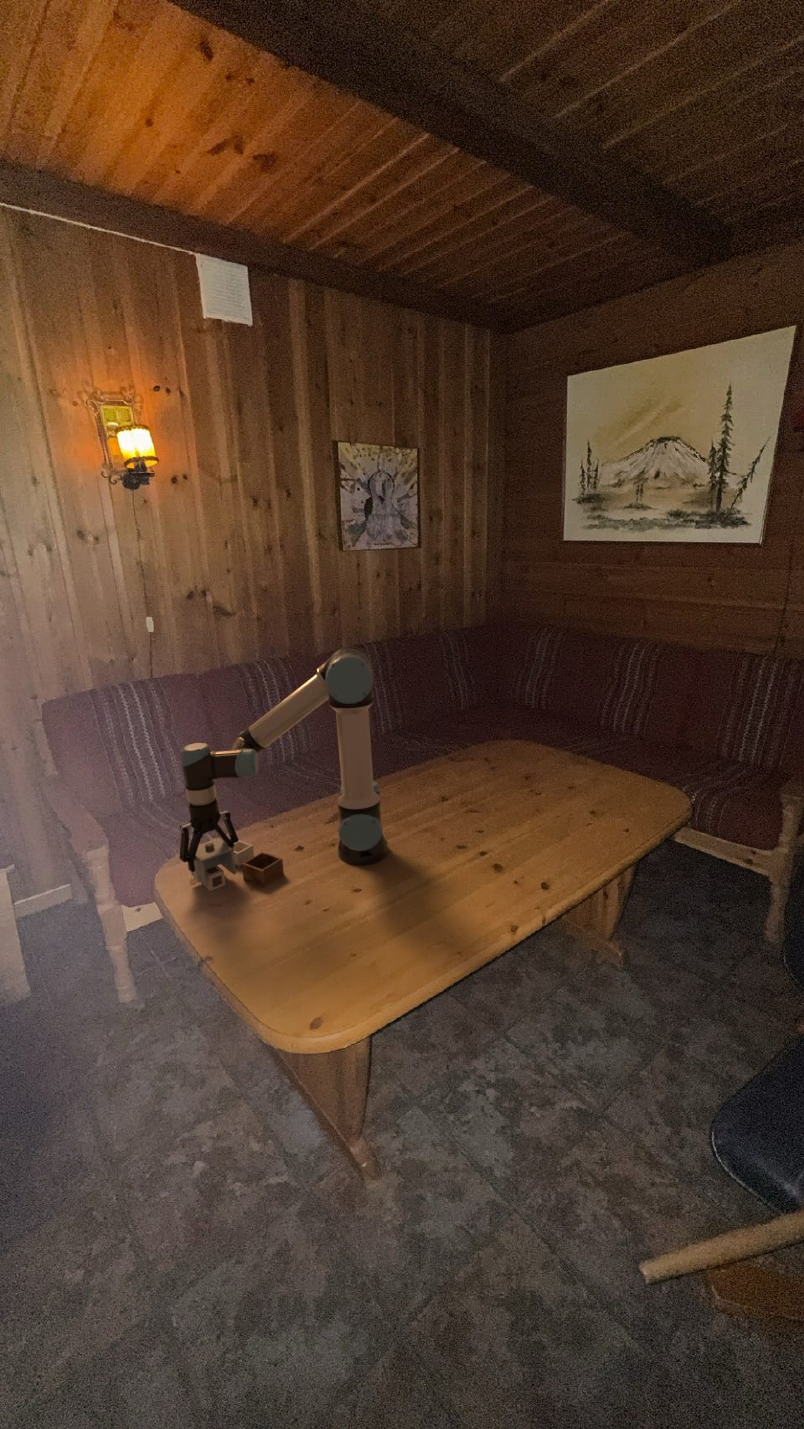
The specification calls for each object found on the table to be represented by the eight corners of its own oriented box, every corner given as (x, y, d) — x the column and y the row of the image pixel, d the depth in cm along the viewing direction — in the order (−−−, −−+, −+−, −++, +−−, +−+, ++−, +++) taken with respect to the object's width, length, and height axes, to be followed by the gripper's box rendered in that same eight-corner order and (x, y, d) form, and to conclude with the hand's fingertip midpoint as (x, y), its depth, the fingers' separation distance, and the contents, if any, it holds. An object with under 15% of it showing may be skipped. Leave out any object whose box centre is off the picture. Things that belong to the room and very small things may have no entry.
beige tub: (254, 858, 188) (253, 845, 187) (239, 867, 184) (237, 853, 182) (240, 853, 192) (239, 840, 190) (225, 862, 187) (223, 848, 186)
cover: (235, 874, 174) (231, 844, 172) (205, 886, 169) (200, 856, 166) (221, 862, 181) (217, 834, 178) (191, 874, 175) (186, 845, 173)
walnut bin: (283, 874, 179) (282, 858, 178) (263, 887, 173) (262, 871, 172) (263, 866, 184) (262, 851, 182) (243, 879, 177) (241, 863, 176)
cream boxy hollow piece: (225, 885, 175) (223, 870, 173) (210, 891, 172) (208, 876, 170) (218, 878, 178) (216, 864, 177) (203, 884, 175) (201, 870, 174)
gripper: (232, 784, 178) (242, 854, 184) (157, 808, 164) (170, 883, 171) (245, 791, 173) (254, 863, 179) (168, 817, 159) (181, 894, 165)
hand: (213, 873), depth 175 cm, fingers closed on cover, 9 cm apart
